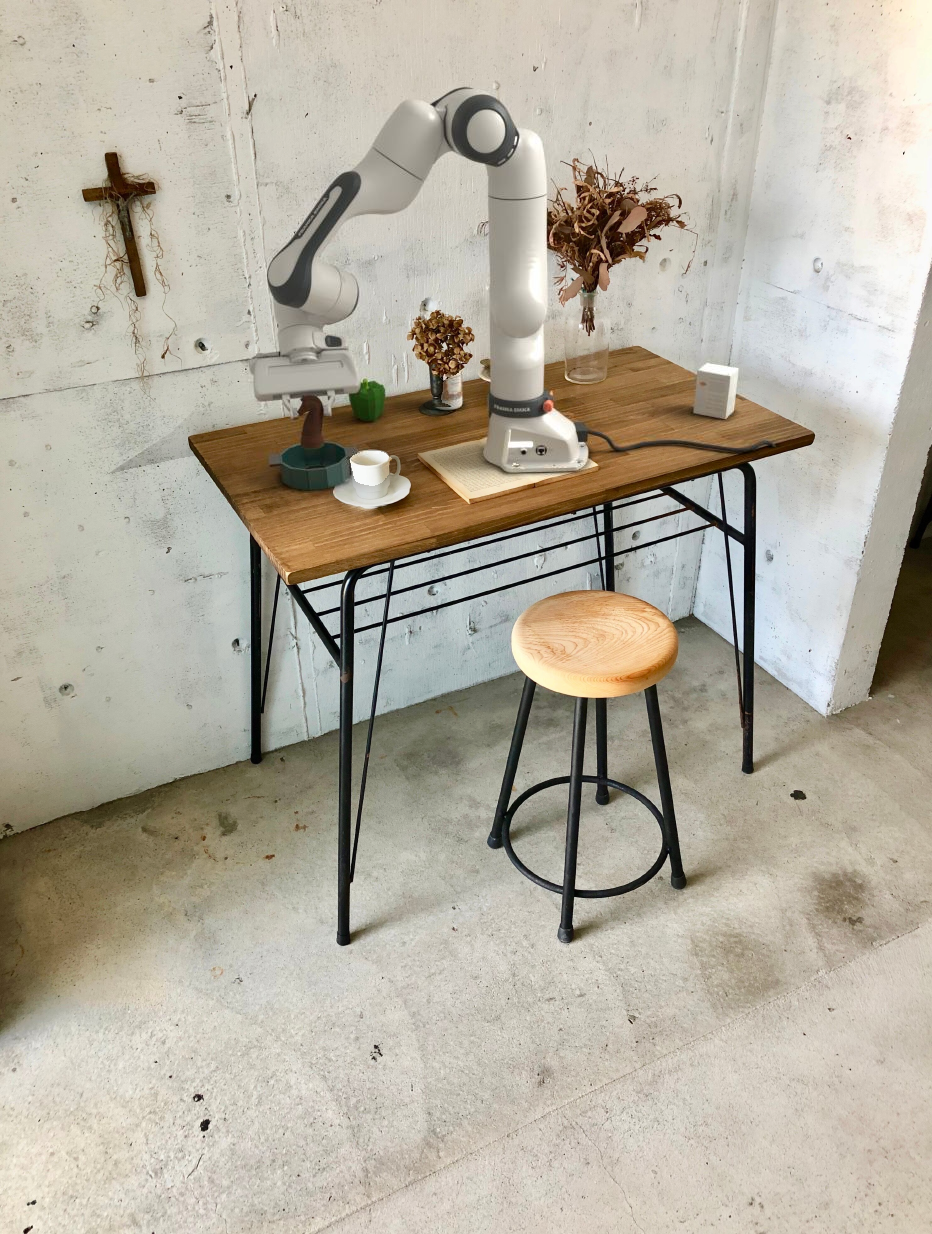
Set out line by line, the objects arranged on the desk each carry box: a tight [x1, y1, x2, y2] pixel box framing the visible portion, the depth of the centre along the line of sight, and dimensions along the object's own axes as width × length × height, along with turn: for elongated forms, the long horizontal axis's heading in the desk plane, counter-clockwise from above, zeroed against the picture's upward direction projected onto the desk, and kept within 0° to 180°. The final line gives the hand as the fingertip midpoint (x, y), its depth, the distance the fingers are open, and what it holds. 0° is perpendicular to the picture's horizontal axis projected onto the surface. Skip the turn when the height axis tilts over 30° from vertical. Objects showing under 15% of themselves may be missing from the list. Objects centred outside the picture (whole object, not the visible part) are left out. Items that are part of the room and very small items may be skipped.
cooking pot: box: [268, 440, 359, 491], centre depth 211 cm, size 14×18×4 cm
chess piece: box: [297, 395, 326, 449], centre depth 194 cm, size 5×5×10 cm
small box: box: [692, 362, 740, 420], centre depth 233 cm, size 8×6×10 cm
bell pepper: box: [348, 378, 386, 423], centre depth 234 cm, size 8×8×10 cm
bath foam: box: [435, 370, 463, 411], centre depth 237 cm, size 7×7×20 cm
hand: (311, 417), depth 193 cm, fingers closed on chess piece, 5 cm apart
